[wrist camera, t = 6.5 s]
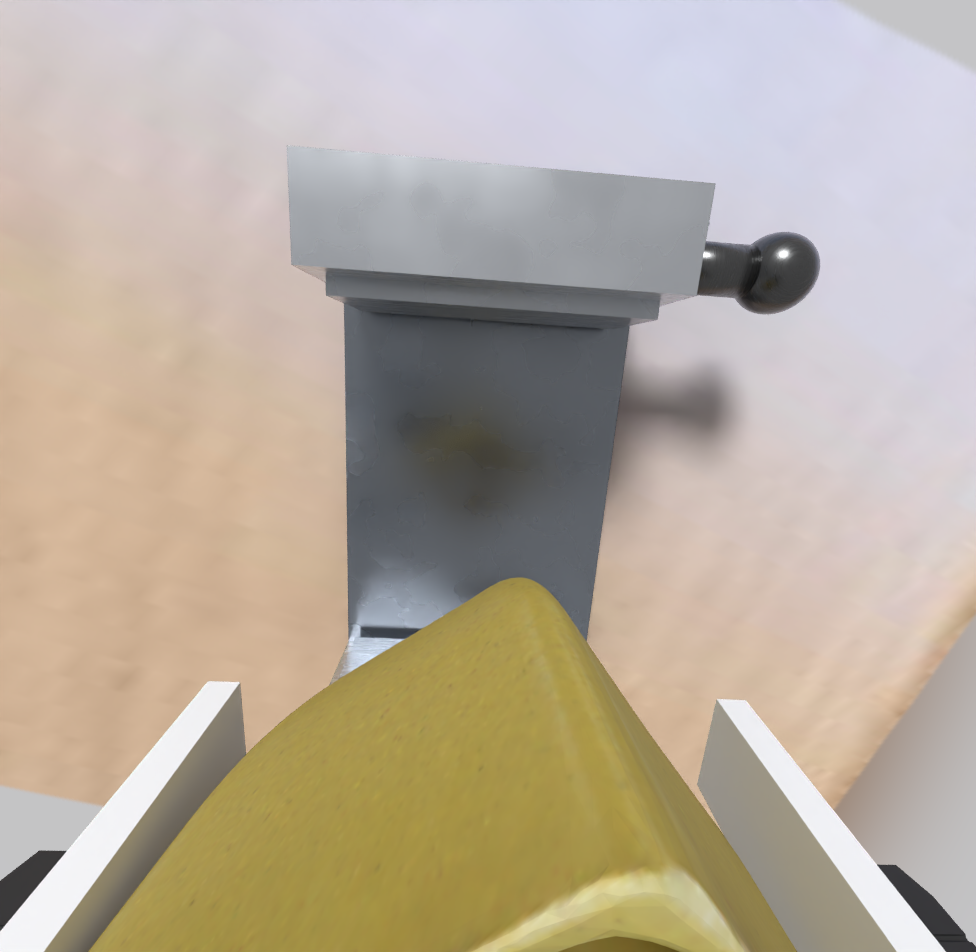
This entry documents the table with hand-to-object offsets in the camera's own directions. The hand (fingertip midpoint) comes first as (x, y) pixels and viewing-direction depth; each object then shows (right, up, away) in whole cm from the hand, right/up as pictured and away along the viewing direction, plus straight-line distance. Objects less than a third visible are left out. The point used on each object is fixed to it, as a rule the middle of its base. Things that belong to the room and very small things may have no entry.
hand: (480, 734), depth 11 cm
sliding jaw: (+3, +15, +8) cm, 18 cm away
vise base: (0, +7, +12) cm, 14 cm away
